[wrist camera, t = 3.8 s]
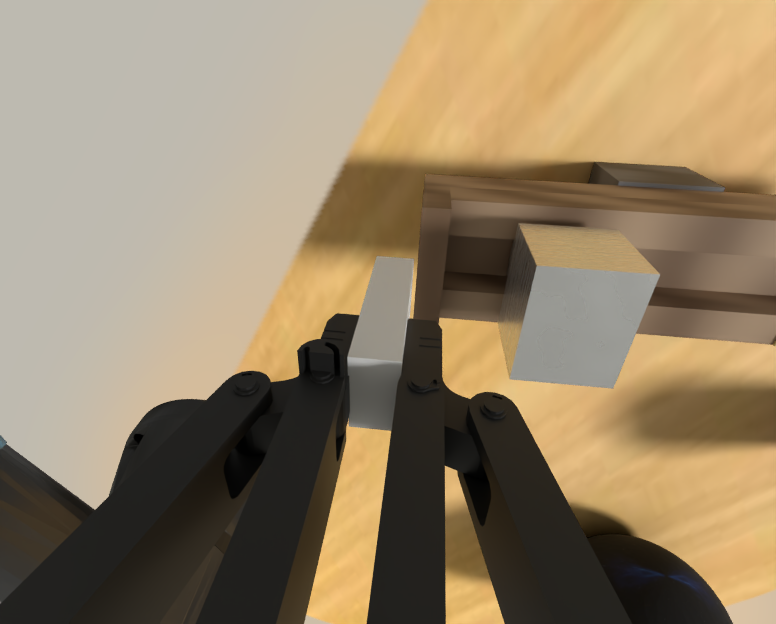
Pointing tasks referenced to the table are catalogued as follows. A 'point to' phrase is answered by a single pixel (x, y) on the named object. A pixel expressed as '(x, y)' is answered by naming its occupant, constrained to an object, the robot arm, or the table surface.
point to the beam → (636, 223)
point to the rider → (572, 304)
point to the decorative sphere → (656, 583)
